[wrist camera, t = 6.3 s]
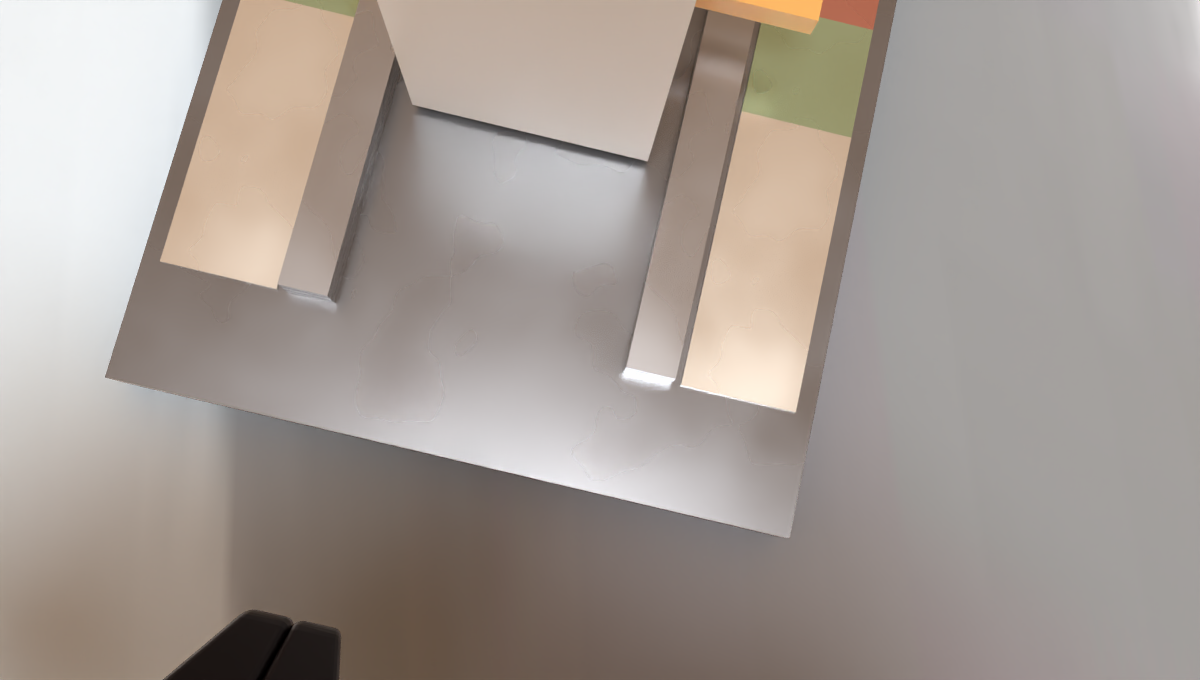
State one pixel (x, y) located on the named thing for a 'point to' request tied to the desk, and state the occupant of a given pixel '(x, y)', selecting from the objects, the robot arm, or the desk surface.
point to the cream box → (559, 60)
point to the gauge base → (516, 258)
